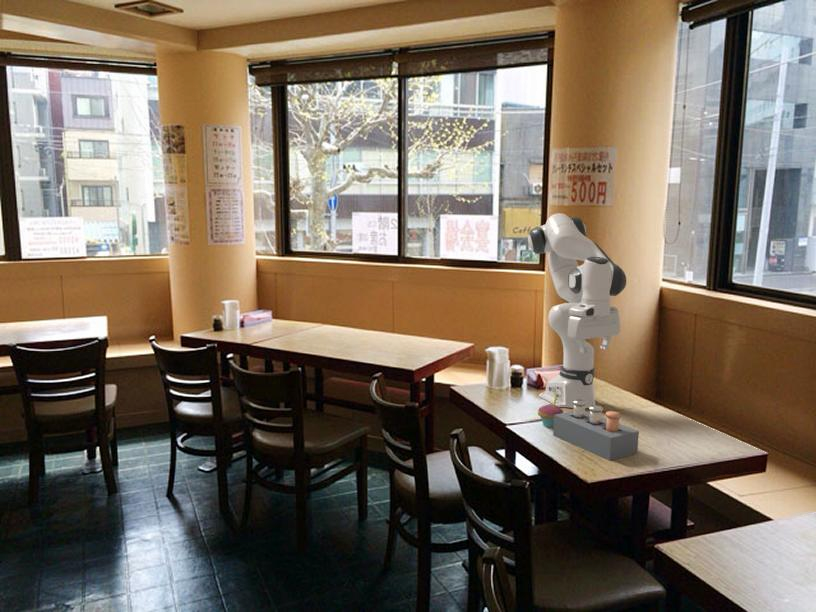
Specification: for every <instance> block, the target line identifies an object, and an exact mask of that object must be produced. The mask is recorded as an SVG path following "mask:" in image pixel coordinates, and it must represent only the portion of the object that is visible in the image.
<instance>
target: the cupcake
mask: <svg viewBox="0 0 816 612" xmlns="http://www.w3.org/2000/svg"><path fill="white" fill-rule="evenodd" d="M557 392H558V391H557ZM556 399H557V393H556V394H555V399H554V404H552V403H548V404H544V405H541V407H538V411H537V415H538V416H539V417H540V419H541V421H542V424H543V426H544V427H547V428H554V415H556V414H561V413H564V410H563V409H562V408H563V407H558V406H556V405H555V404H556Z"/></svg>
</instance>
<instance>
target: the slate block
mask: <svg viewBox="0 0 816 612" xmlns="http://www.w3.org/2000/svg"><path fill="white" fill-rule="evenodd" d="M589 415H590V411H586V410H585V418H583V419H576V418H574V417H573V410H572V411H571V410H570V411H566V412H563V413H561V414H556V415H554V427H553V432H552V433H553V434H552V435H553V437H556V438H558V439H560V440H563V441H565V442H567V443H569V444H571V445H574V446H575V447H576V446H577V448H578V447H579V448H581V449H583V450H585V451H587V452H590V453H591V454H594V455H596V456H599V457H601V458H602V459H605V460H607V461H613V460H617V459H621V458H625V457H629V456H632V455H636V454H638V452H639V451H638V448H639V435H640V431H639V430H637V429H634V428H631V427H629V426H626V425H623V424H621V423H619V428H618V432H614V433H612V432H609V431H607V430H606V421H607V418H605V417H602V416H601V425H597V426H594V425H592V424H589Z"/></svg>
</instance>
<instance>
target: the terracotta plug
mask: <svg viewBox="0 0 816 612" xmlns="http://www.w3.org/2000/svg"><path fill="white" fill-rule="evenodd" d="M605 416H606V419H607V421H606V430H607V431H609V432H612V433H614V432H618V428H619V424H620V418H621V412H619V411H612V410H611V411H610V410H609V411H606V412H605Z"/></svg>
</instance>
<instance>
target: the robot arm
mask: <svg viewBox="0 0 816 612" xmlns="http://www.w3.org/2000/svg"><path fill="white" fill-rule="evenodd" d="M527 236H528V237H527V243H528V245H529V248H530V250H532V252H533V253H535V254H536V255H542V254H545V253H548V255H547V262H548V269H549V273H550V276H551V279H552V281H553V282H552V283H553V286H554V288H555V291H556V294H557V295H558V296H559V298H561V299H563V300H565V301H566V302H564V303H560V304H556V305H554V306H552V307H551V308H550V310H549V312H548V315H547V320H548V325H549V326H550V328H551V329H552V330H553V331H555V333H556V334H557V335H558V336H559V338H560V340H561V344H562V347H563V349H562V351H563V358H562V360H563V361H562V362H563V364H562V365H561V366H559V367H558V368H557V370H559V374H557V375H556V376H555V377H553V378H552V379H550V380H549V381H547V382H546V385H545V391H542V392H541V393H539V395H538V396H539V397H540V398H541V399H543V400H545V401H546V402H548V403H549V404H551V405H553V404H554V399H555V394H556V393H557V399H556V404H555V405H556V406H558V407H560V408H571V409H573V408H574V404H573V400H575V399H581V400H585V401H586V405H585V409H589V406H590V405H597V403H596V397H595V388H594V387H595V386H594V379H595V368H594V360H595V359H594V358H595V348H594V346H592V344H591V343H589V342H588V341H586V340H589V339H595V338H602V339H603V340H602V343H600V349H601V350H602V351H607V350H609V344H610V342H611V340H612V336H618V335H619V334H620V332H621V321H620V315H619V309H618V308H617V307H616V306H611V296H612V297H617V296H618V295H620V294H621V293H622V292H623V291H624V289H625V288H626V285H627V276H626V273H625V271H624V270H623V268H622V267H620V266H619V265H618V264H616V263H615V262H613V260H612V259H611V258H610V257H609V256H608V254H606V252H605V250H603V249H602V247H600V245H598V243H596V242H595V241H593V240H591V239H590V238H588V237H587V227H586V225H585V223H584V221H583V220H582V219H581V218H580V217H577V216H572V217H569V216H568V215H567V214H565V213H561V212H560V213H559V212H558V213H554V214H552V215H551V216H549V217H548V218H547V220H546V222H545V224H543V225H539V226H535V227H533V228H531V229H530V231H529V232H528V235H527ZM578 261H582V262H583V263H582V264H580V265H579V263H578ZM557 391H558V392H557Z"/></svg>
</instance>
